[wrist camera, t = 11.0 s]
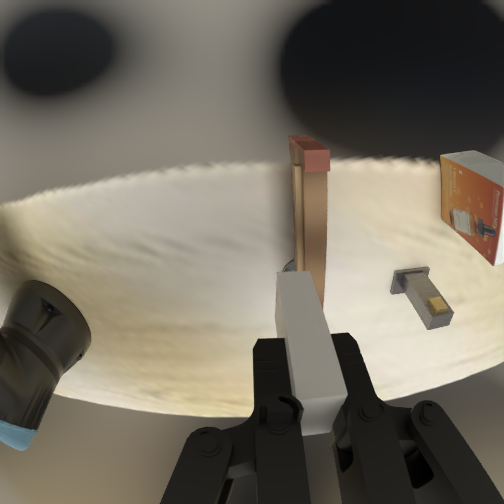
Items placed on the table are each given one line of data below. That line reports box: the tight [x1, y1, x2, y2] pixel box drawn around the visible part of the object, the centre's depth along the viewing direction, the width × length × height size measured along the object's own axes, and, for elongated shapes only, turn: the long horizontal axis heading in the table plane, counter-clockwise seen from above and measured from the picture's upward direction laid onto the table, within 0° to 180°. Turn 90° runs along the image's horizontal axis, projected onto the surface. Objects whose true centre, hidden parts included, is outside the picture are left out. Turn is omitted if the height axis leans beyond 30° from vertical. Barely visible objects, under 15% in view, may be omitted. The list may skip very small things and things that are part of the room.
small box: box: [440, 150, 504, 266], centre depth 21 cm, size 8×6×10 cm
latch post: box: [391, 267, 454, 330], centre depth 28 cm, size 5×3×8 cm, turn 95°
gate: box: [289, 135, 330, 309], centre depth 23 cm, size 13×2×8 cm, turn 5°
